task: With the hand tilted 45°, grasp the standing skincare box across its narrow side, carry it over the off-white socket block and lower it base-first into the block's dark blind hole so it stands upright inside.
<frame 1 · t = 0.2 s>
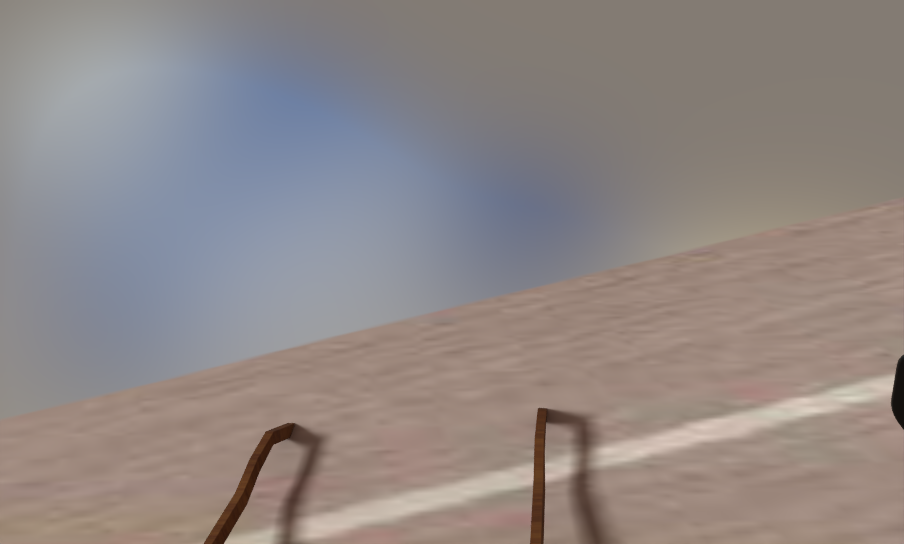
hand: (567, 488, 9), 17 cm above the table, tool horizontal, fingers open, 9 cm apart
glasses: (395, 541, 30), on the table
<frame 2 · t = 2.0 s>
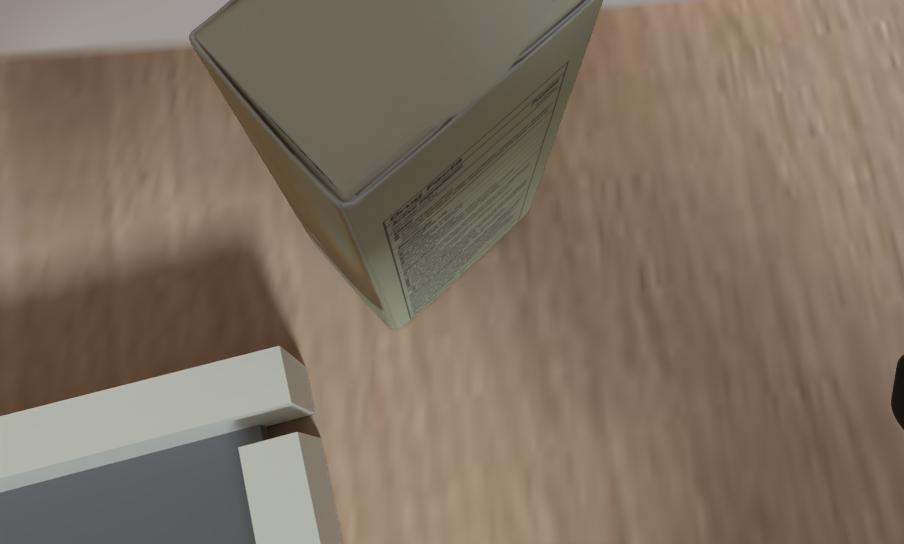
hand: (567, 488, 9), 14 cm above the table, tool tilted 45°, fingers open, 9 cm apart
skincare box: (418, 230, 24), on the table
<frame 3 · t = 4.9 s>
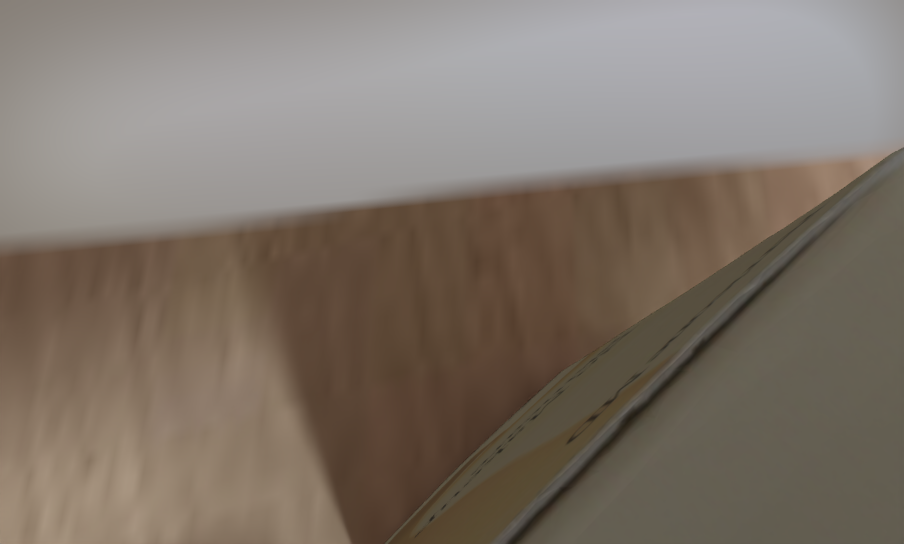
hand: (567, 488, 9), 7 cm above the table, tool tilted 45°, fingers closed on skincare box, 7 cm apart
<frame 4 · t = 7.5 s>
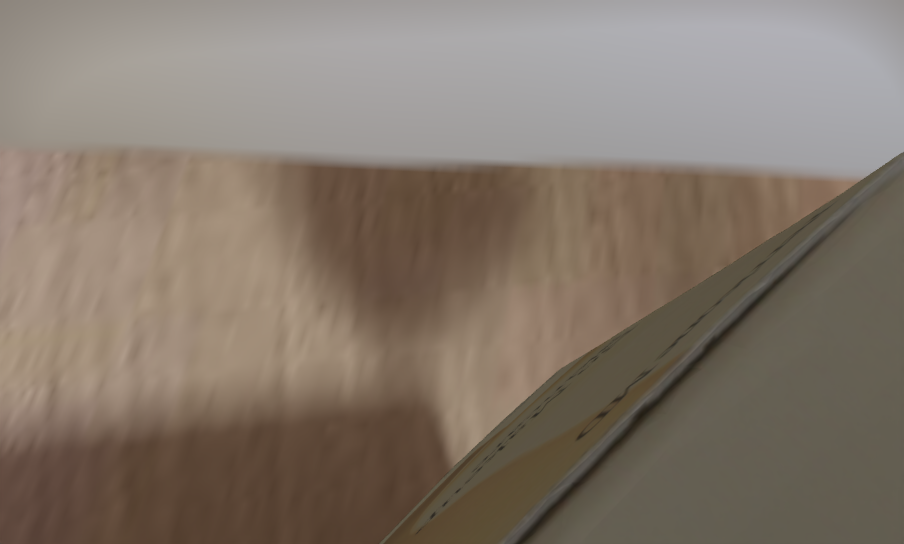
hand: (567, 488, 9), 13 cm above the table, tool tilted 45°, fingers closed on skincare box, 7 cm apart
skincare box: (527, 543, 15), point 6 cm above the table, touching gripper
when the fingers open (8 cm above the table, at t = 10.1 s): skincare box stays where it is, resting on socket block.
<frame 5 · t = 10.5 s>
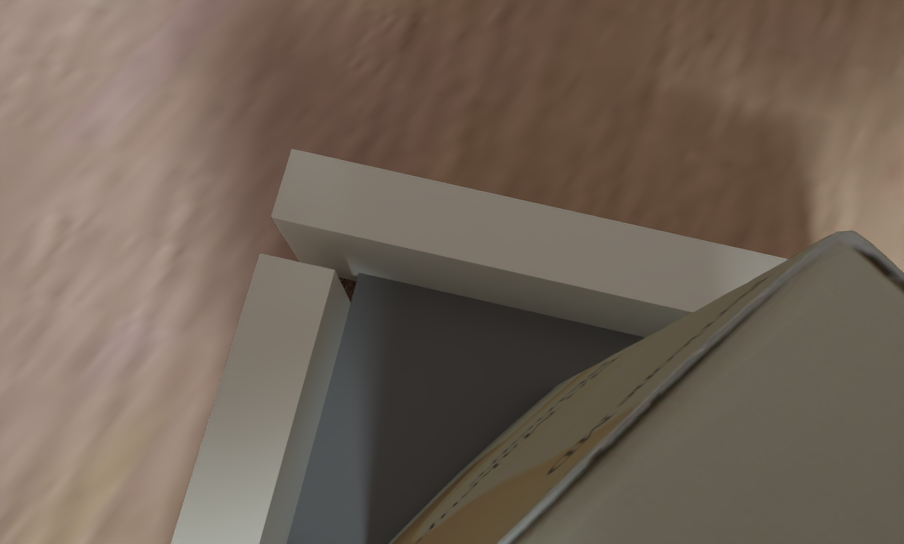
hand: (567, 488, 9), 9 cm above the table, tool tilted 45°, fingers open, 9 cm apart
socket block: (519, 536, 17), on the table
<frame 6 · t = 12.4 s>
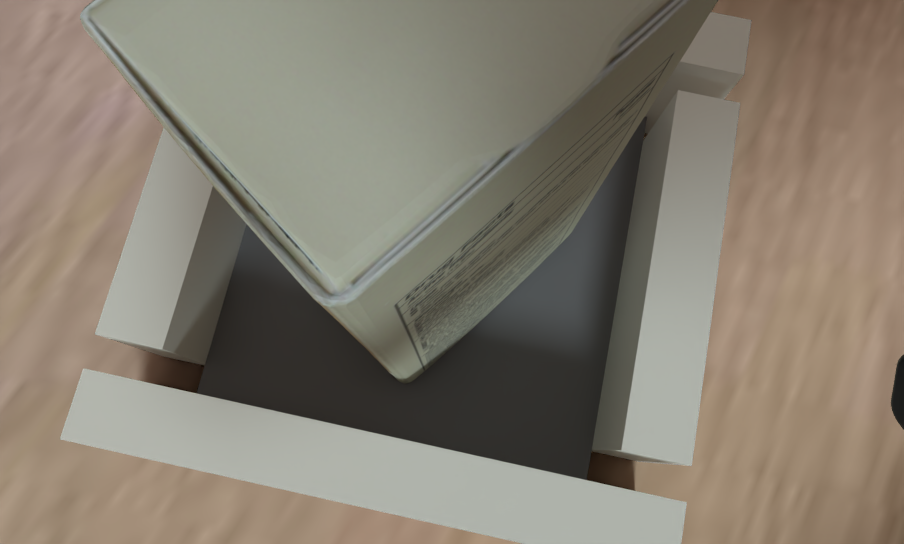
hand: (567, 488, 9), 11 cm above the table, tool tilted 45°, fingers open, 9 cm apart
socket block: (433, 257, 20), on the table
skincare box: (433, 257, 20), point 1 cm above the table, touching socket block
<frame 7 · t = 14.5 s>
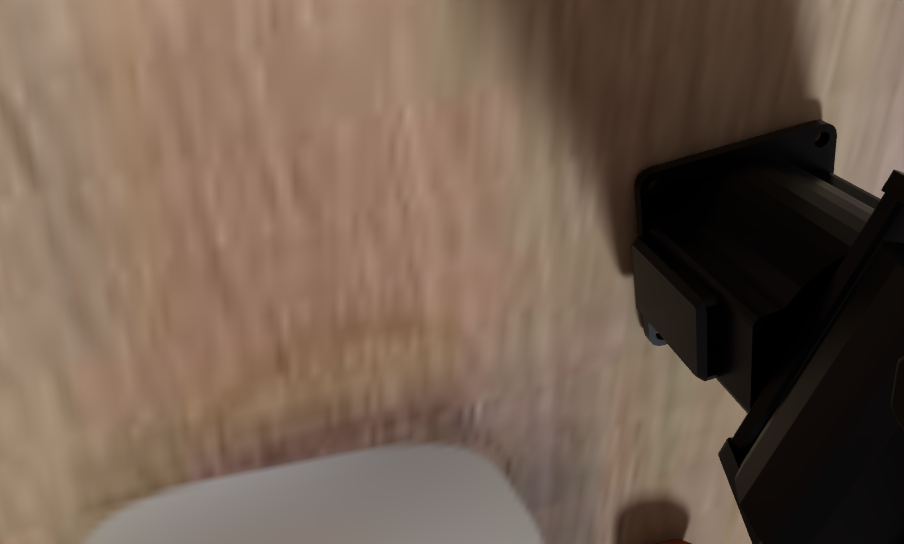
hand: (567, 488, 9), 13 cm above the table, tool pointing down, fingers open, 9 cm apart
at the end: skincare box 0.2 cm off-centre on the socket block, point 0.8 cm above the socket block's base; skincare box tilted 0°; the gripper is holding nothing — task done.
